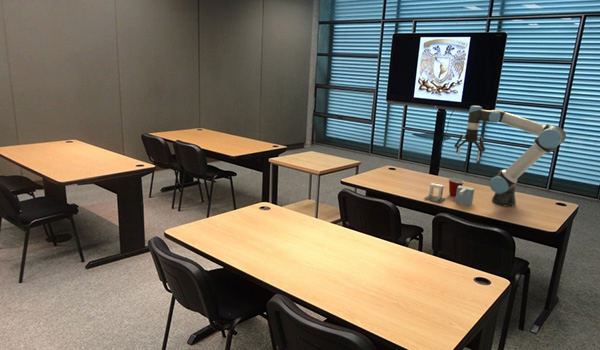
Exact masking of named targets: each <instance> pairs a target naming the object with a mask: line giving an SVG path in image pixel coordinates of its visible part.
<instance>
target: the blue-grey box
mask: <svg viewBox="0 0 600 350" xmlns="http://www.w3.org/2000/svg"><path fill="white" fill-rule="evenodd" d="M474 194H475V187H469V186H464V185H462V186H460V185H459V186H458V187H457V192H456V197H455V199H454V203H455V202H456V203H455V204H461V205H464V206H469V207H470V206H471V205H472V204H473V199H474Z"/></svg>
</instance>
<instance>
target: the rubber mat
mask: <svg viewBox="0 0 600 350" xmlns="http://www.w3.org/2000/svg"><path fill="white" fill-rule="evenodd" d="M424 199H425V200H424ZM445 199H446V200H447V198H446V197H442V199H441V200H438V195H433V196H432V198H429V194H428V195H426V196H425V197H424V198H423V200H424V201H428V200H430V201H429V202H433V201H434V202H433V203H437V202H438V203H437V204H442V203H443V202H444V201H446V200H445Z"/></svg>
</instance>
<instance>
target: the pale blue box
mask: <svg viewBox="0 0 600 350" xmlns="http://www.w3.org/2000/svg"><path fill="white" fill-rule="evenodd" d="M435 188H436V189H438V194H437V197H438V200H441V199H442V198H443V192H444V184H437V183H433V182H431V183H430V184H429V191H428V195H429V198H432V196H434V195H433V194H434V189H435Z"/></svg>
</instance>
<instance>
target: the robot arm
mask: <svg viewBox="0 0 600 350" xmlns="http://www.w3.org/2000/svg"><path fill="white" fill-rule="evenodd" d="M469 107H470V108H469V112H468V118H467V124H466V130H465V131H466V132H465V134H463V133H462V134H461V135H460V137H459V138H458V140H457V141H456V143H455V144H454V145H453V147H454V148H456V150H455V151H456V153H457V155H456V158H458V159H459V157H460V152H461V147H462V146H463V145H464V144H465V143H467V142H468V143H473V144H474V145H475V146H476V148H477V149H478V153H477V159H476V160H477V162H479V161H480V157H482V155H483V152H485V151H486V146H485V144H484V141H483V137H482V136H478V134H479V128H480V123H481V122H487V123H491V124H492V123H493V124H495V123H496V124H497V123H500V124H504V125H506V126H508V127H512V128H516V129H518V130H521V131H523V132H527V133H528V134H532V135H535V136H537V137H536V138H535V139H534V140H533V145H531V146H530V147H529V148H528V149H527V150H526V151H525V152H524V153H523V154H522V155H520V157H518V158H517V159H516V160H515V161H514V162H513V163H512V164H511V165H510V166H509V167H508V168H506V169H500V170H499V173H498V174H496V175H495V176H493V177H492V178H491V179H490V181H489V187H490V189H491V191H492V192H494V194H493V196H492V199H491V202H492V203H493V204H495V205H499V206H503V205H506V206H505V207H513V206H512V205H515V206H516V203H517V201H516V195H515V194H516V188H517V183H518V179H519V178H520V176H522V175H523V174H524V173H525V172H526V171H528V170H529V168H531V167H532V166H533V165H534V164H535V163H537V161H538V160H539V159H540V158H542V157H543V156H545V154H550V153H551V152H552V151H554V150H555V149H556V148H557V147H558V146H559V145H561V144H563V143H564V141H566V139H567V134H566V131H565V130H564V129H563V128H561V127H560V126H555V125H552V124H551V125H550V124H549V123H546V124H543V123H540V122H537V121H534V120H531V119H528V118H524V117H521V116H519V115H515V114H512V113H509V112H505V111H504V110H502V109H499V108H498V109H492V110H487V109H483V106H480V105H470V106H469ZM463 138H464V140H463V141H462V139H463ZM477 140H478V141H479V143H478V141H477ZM461 141H462V142H461ZM480 145H481V146H480Z"/></svg>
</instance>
